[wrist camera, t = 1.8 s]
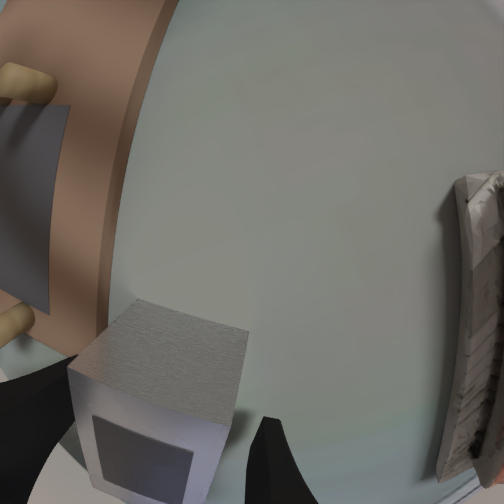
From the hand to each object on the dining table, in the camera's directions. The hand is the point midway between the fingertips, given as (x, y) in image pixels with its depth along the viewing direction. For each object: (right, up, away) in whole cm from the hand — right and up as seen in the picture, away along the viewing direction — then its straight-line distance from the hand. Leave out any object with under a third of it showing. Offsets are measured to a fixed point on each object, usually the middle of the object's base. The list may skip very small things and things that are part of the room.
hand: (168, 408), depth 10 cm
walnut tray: (-6, +12, -1) cm, 14 cm away
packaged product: (+17, +2, +1) cm, 17 cm away
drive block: (0, 0, +2) cm, 2 cm away
